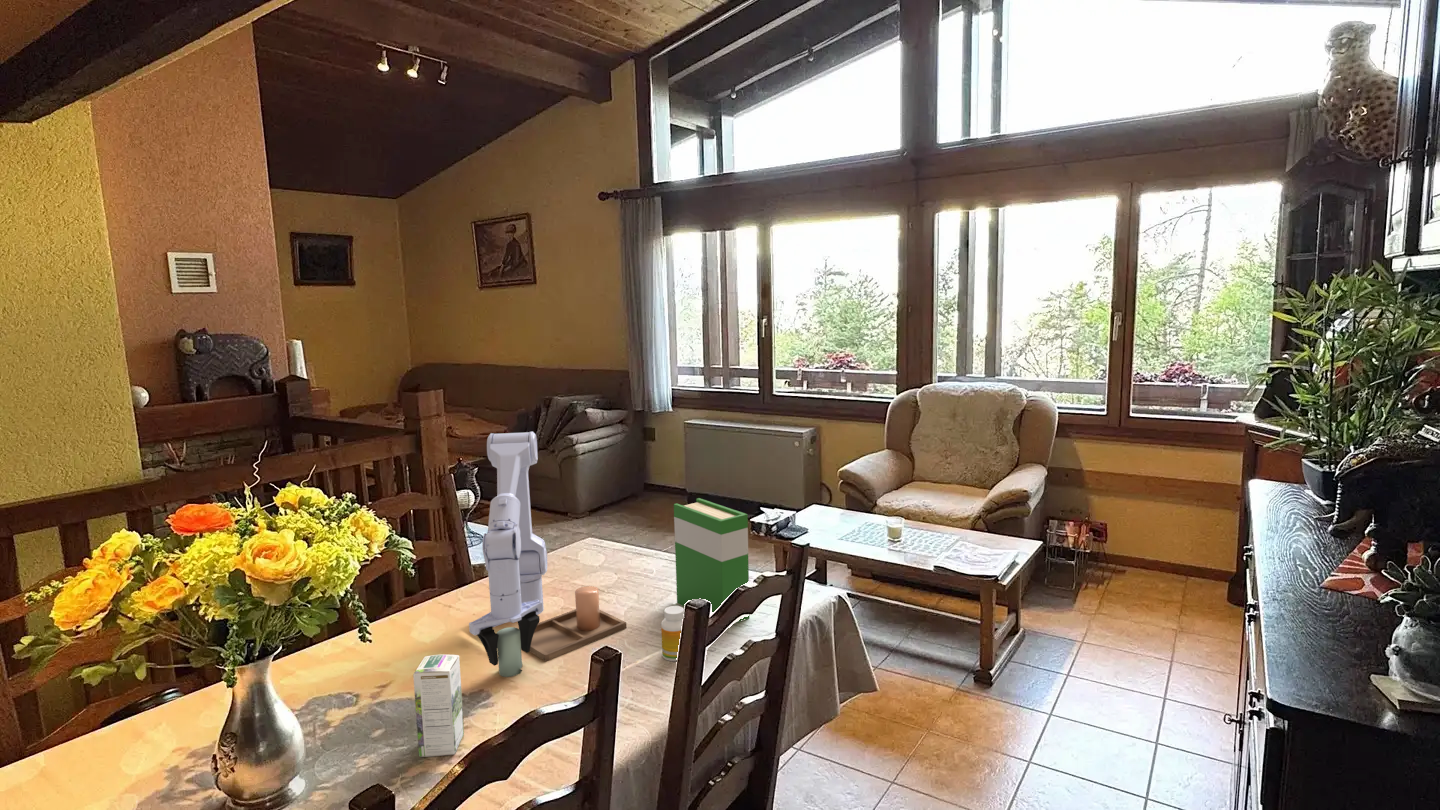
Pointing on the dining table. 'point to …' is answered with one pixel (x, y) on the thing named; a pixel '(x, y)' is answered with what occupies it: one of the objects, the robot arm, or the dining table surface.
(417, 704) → the syrup box
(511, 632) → the sage tube
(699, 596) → the hardback book
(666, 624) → the supplement bottle
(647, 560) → the dining table surface
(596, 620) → the peach cylinder pillar
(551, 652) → the walnut tray
